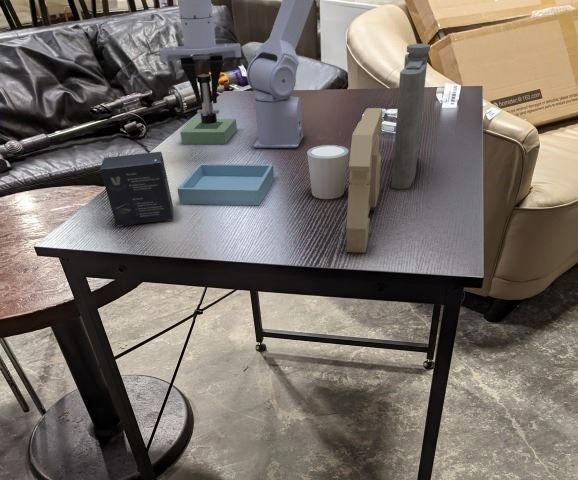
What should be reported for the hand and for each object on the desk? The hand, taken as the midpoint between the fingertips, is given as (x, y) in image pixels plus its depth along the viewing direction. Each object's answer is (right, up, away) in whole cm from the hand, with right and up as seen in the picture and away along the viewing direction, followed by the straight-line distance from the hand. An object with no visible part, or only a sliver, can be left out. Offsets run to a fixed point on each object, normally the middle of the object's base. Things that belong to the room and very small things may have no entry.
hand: (207, 102), depth 101 cm
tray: (+5, -19, -7) cm, 21 cm away
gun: (+28, -28, -18) cm, 44 cm away
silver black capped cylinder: (0, -3, +2) cm, 3 cm away
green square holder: (-2, +2, +18) cm, 18 cm away
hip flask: (+37, -16, -5) cm, 41 cm away
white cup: (+23, -21, -10) cm, 32 cm away
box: (-8, -27, -13) cm, 31 cm away
